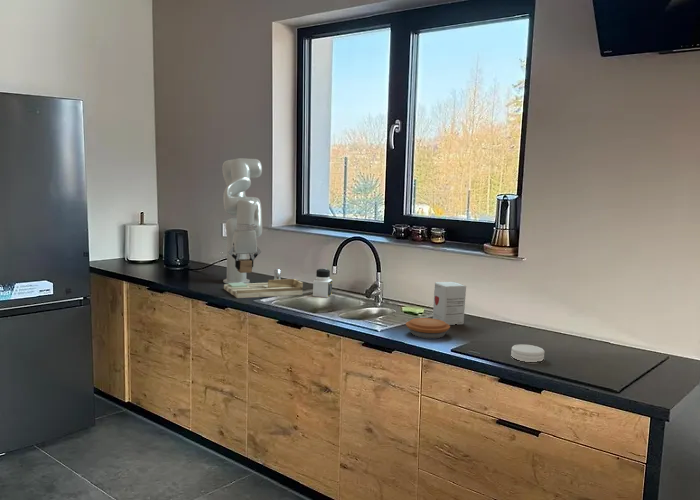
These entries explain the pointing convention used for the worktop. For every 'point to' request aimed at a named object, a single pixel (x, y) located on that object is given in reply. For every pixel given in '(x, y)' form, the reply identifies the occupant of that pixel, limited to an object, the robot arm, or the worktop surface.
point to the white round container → (527, 353)
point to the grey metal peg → (277, 274)
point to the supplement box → (449, 302)
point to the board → (268, 289)
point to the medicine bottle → (322, 283)
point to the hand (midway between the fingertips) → (244, 268)
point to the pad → (237, 285)
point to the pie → (427, 327)
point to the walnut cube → (245, 266)
